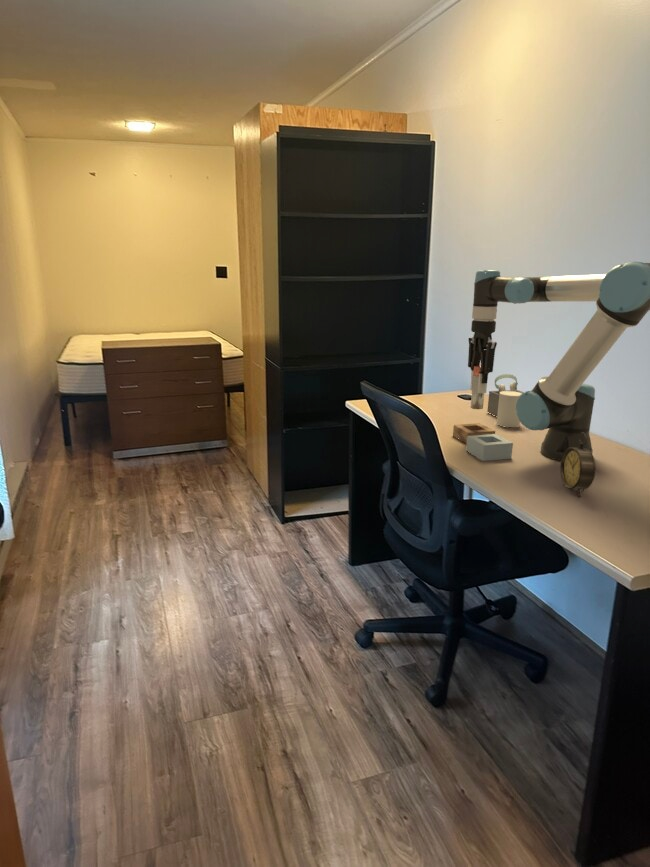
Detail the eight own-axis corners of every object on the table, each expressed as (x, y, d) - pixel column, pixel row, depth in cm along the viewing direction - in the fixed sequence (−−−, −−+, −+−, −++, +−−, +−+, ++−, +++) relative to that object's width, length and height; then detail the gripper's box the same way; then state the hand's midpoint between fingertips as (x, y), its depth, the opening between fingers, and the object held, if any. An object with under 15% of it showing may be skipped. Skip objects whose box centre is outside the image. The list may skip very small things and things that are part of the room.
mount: (494, 442, 198) (495, 430, 197) (467, 444, 195) (468, 432, 194) (478, 434, 207) (479, 423, 206) (452, 436, 204) (453, 424, 203)
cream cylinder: (520, 428, 215) (524, 396, 211) (497, 427, 216) (501, 395, 212) (517, 422, 222) (521, 391, 219) (495, 421, 223) (498, 390, 220)
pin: (485, 408, 196) (488, 367, 192) (474, 409, 195) (477, 367, 191) (478, 406, 200) (482, 365, 196) (468, 406, 199) (471, 365, 195)
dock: (511, 458, 182) (513, 442, 181) (482, 461, 179) (484, 445, 178) (493, 448, 191) (495, 433, 190) (465, 451, 188) (467, 436, 187)
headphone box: (526, 416, 231) (529, 394, 228) (498, 418, 228) (501, 395, 225) (514, 411, 239) (516, 389, 236) (487, 413, 235) (489, 391, 233)
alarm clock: (556, 484, 162) (564, 426, 157) (575, 483, 162) (583, 426, 157) (575, 499, 151) (583, 438, 147) (595, 499, 151) (605, 438, 147)
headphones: (502, 410, 236) (492, 381, 221) (501, 402, 238) (492, 373, 223) (523, 407, 233) (515, 378, 217) (523, 399, 235) (515, 369, 219)
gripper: (509, 322, 183) (502, 396, 189) (480, 317, 198) (474, 385, 205) (488, 322, 181) (481, 397, 187) (460, 317, 196) (455, 386, 203)
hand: (478, 391), depth 196 cm, fingers closed on pin, 4 cm apart
